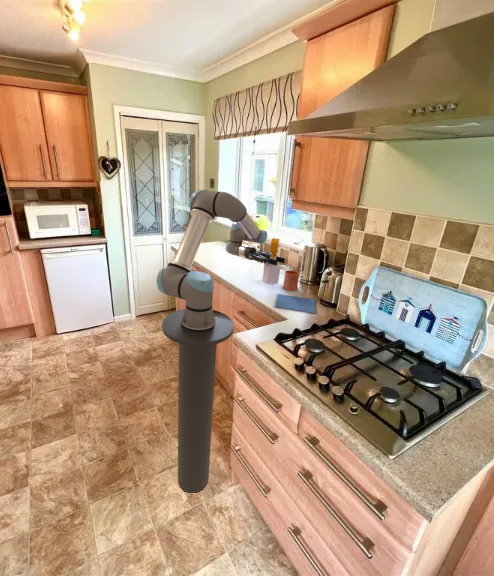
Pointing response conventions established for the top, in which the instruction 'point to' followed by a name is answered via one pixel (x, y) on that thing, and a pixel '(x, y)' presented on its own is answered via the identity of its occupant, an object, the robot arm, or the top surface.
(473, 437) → the top surface
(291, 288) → the terracotta cup
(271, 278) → the soap bottle
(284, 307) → the blue mat
